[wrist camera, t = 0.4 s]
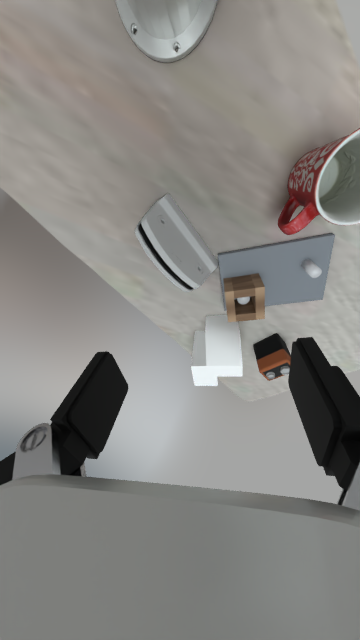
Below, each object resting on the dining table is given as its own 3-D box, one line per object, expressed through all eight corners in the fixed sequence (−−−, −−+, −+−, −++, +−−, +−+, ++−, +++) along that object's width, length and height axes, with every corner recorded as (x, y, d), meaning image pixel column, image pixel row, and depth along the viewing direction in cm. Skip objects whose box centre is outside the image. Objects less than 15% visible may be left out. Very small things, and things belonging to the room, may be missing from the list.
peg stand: (217, 253, 41) (218, 263, 36) (331, 233, 36) (349, 241, 31) (224, 307, 48) (225, 322, 43) (320, 296, 43) (332, 311, 38)
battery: (285, 342, 51) (299, 374, 43) (261, 354, 55) (269, 385, 47) (276, 332, 50) (289, 362, 42) (252, 344, 53) (259, 374, 45)
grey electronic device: (220, 264, 42) (205, 294, 36) (202, 273, 45) (186, 302, 39) (167, 190, 35) (138, 212, 29) (151, 207, 39) (122, 230, 33)
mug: (330, 120, 28) (403, 88, 17) (357, 176, 31) (433, 179, 20) (251, 195, 34) (268, 206, 24) (279, 236, 37) (307, 262, 27)
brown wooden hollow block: (223, 278, 42) (224, 292, 38) (258, 273, 41) (264, 286, 36) (226, 306, 46) (228, 322, 41) (259, 302, 44) (264, 318, 40)
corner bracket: (197, 349, 57) (194, 385, 47) (192, 316, 51) (187, 350, 41) (236, 348, 55) (241, 386, 45) (236, 314, 48) (242, 349, 39)
